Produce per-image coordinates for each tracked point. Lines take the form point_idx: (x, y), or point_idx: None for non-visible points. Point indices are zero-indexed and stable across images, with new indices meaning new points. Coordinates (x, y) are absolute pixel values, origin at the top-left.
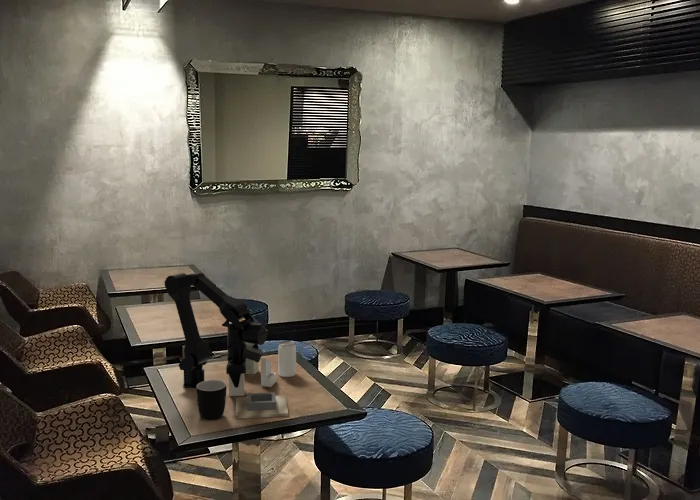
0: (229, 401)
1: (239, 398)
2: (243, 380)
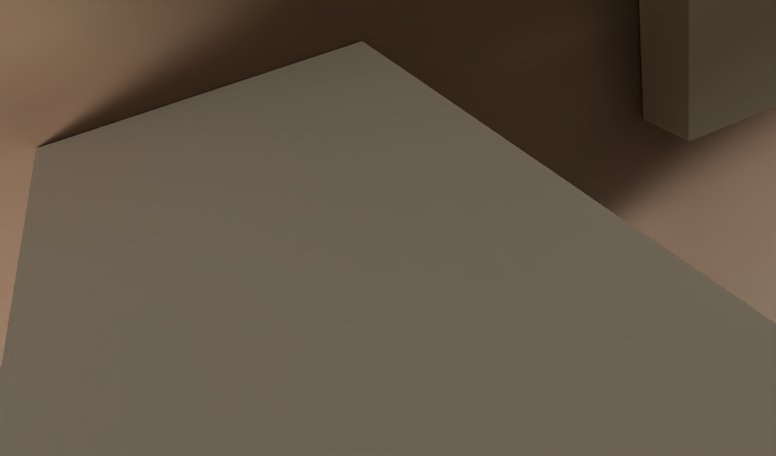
0: (668, 229)
1: (740, 55)
2: (633, 246)
